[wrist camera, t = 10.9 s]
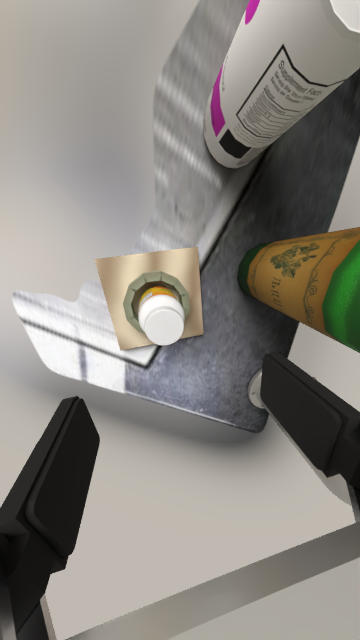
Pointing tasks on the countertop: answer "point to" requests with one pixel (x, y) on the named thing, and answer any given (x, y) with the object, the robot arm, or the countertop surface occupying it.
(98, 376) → the countertop surface
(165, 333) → the supplement bottle
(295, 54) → the supplement can
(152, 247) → the countertop surface
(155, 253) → the collar holder
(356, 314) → the bottle
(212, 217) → the countertop surface
